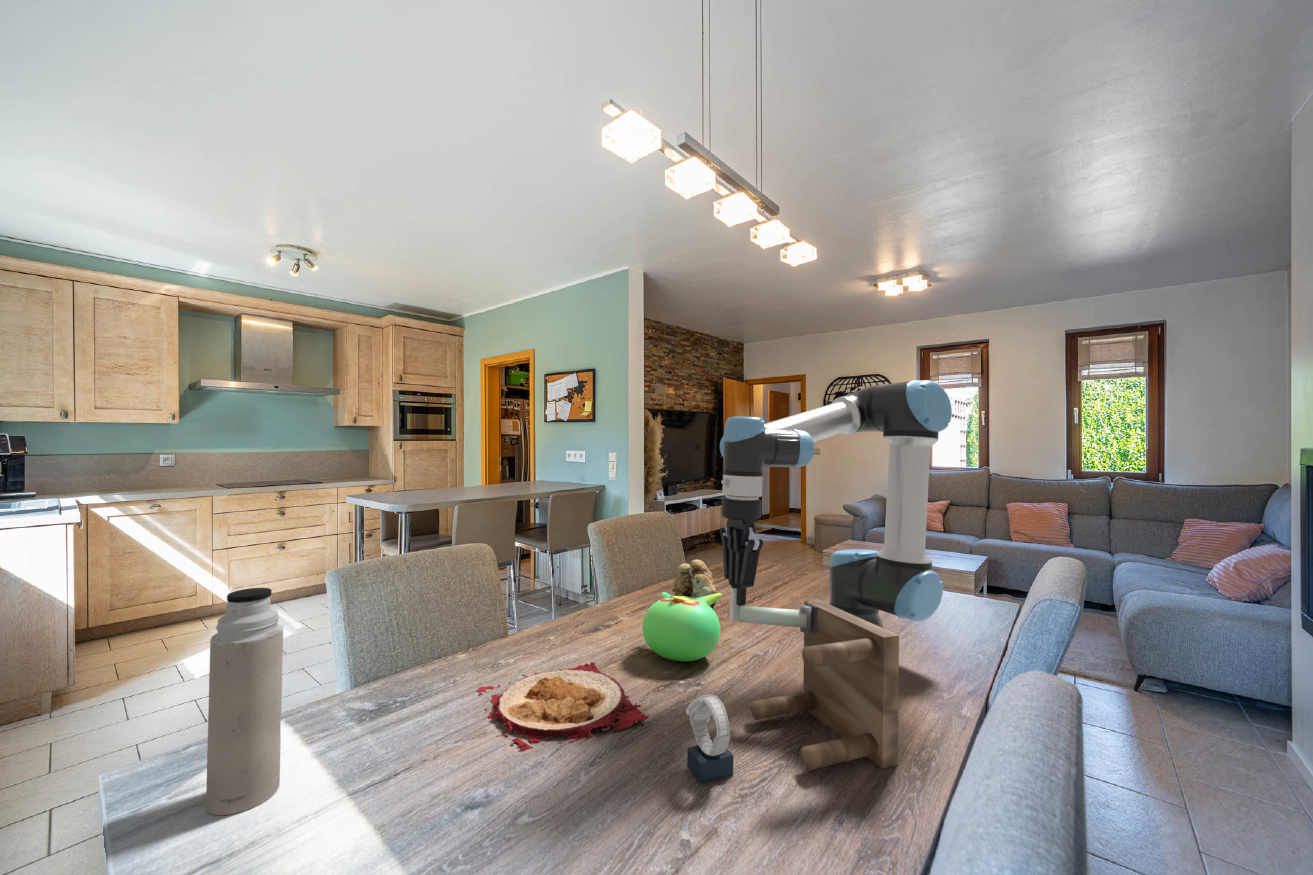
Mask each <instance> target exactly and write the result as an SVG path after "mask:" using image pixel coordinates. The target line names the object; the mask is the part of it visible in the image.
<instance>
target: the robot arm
mask: <svg viewBox="0 0 1313 875" xmlns="http://www.w3.org/2000/svg"><path fill="white" fill-rule="evenodd" d="M952 410H953V409H952V404H951V400H950V397H949V395H948V393H947V392H946V391H945V389H944V387H943V386H941V384H939V383H937V382H935V381H933V380H914V379H913V380H909V381H902V382H893V383H885V384H877V385H871V386H869V387H865V388H863V389H859V390H857V391H854V392H851V393H848V394H846V395H843V396H838V397H837V398H835V399H833V401H831V403H830V404H827V405H824V406H820V407H816V408H813V409H810V410H807V411H806V410H805V411H804V412H800V413H796V414H793V415H790V416H787V417H783V418H779V419H776V420H773V421H768V422H766V423H765V420H764V418H762V417H756V416H731V417H728V418H727V419H726V421H725V423H724V424H725V425H724V431H723V432H724V434H723V436H722V438H721V439H720V442H719V451H720V454H721V456H722V458H723V464H722V473H723V474H722V480H721V484H722V495H723V496H724V497H723V498H722V499H721V512H720V514H721V517H722V518H724V519H727V521H726V527H724V528H720V529H719V534H720V539H721V547H722V562H723V574H724V579H725V580H728V584H729V585H730V587H729V588H730V591H729V615H728V616H729V618H728V619H729V621H730V622H732V623H737V622H739V610H740V606H747V604H746V603H747V589H748V588H753V587H754V586H755V580H756V575H757V569H758V564H759V557H760V552H761V549H762V547H763V545H764V541H763V539H761V538H759V539H758V536H756V533H757V531H756V530H757V529H756V521H758V520H760V519H761V517H762V501H761V499H759V498H761V497H762V496H763V475H764V473H763V472H764V468H765V467H773V468H774V467H777V468H778V467H779V468H793V469H794V468H797V467H798V468H799V467H805V466H807V465H808V464H810V462H812V460H813V458H814V455H815V442H819V441H821V440H825V439H828V438H831V437H833V436H834V437H835V436H836V435H840V434H842V435H846V436H847V435H848V436H849V435H853V434H856V433H862V432H863V433H867V432H872V433H873V432H875V433H876V432H879V433H881V432H883V433H882V439H883V440H884V441H885V442H886V443H887V444H888V446H889V450H888V467H887V469H888V470H887V484H886V487H887V489H886V504H885V506H886V507H885V521H884V522H885V525H884V526H885V527H884V540H883V541H884V542H883V544H884V545H883V548H882V549H881V550H879V551H878V550H875V549H862V548H861V549H858V548H857V549H856V548H855V549H840V550H836V551H834V552H833V553H832V554H831V556H830V565H829V605H831V606H834V607H836V608H838V609H841V610H843V611H845V612H847V613H850V614H852V615H854V616H856V617H859V618H861V619H863V620H865V621H868V622H870V623H872V624H874V625H877V626H879V627H881V628H883V629H884V627H883V623H882V619H881V616H880V611H882V612H884V613H887V614H890V615H893V616H896V617H898V618H899V619H902V620H908V621H909V620H910V621H911V622H923V621H926V620H928V619H929V618H931V617H932V616H933V615H934V614H935V612H936V611H937V610H938V608H939V606H940V604H941V602H942V598H943V595H944V584H943V580H942V578H941V576H940V575H939V574H938V573H937V572H936V571H933V560H932V559H931V558H930V556H929V555H927V553H926V543H927V542H926V541H927V540H926V539H927V537H926V536H927V523H928V522H927V520H928V518H927V517H928V503H929V502H928V498H929V479H930V462H931V447H932V446H934V444H936V443H937V442H938V441H939V432H942V431H944V430H946V429H947V428H948V427H949V424H950V422H951V420H952V416H953V415H952V414H953V413H952V412H953V411H952ZM739 623H740V622H739Z"/></svg>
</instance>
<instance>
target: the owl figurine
mask: <svg viewBox="0 0 1313 875" xmlns="http://www.w3.org/2000/svg"><path fill="white" fill-rule="evenodd" d="M689 562H690V563H686V562H685V563H682V564H679V565H678V568H677V570H678V575H677V576H676V577H675V579H674V581H673V587H672V588H671V591H672V592H674V596H686V597H693V598H700V597H703V596H707V595H711V594H716V593H717V590H716V586H715V585H714V583H715V582H714V579H713V578H714V577H713V572H711V571H710V570H709V569H708V566H707V565H706V564H705V562H704V561H703V560H700V559H692V561H689ZM716 602H717V601H715V602H714V603H713V604H711V605H710V607H711V608H712V609H713V610H714V608H715V605H716ZM719 622H720V623H721V620H719Z"/></svg>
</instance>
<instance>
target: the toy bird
mask: <svg viewBox="0 0 1313 875" xmlns="http://www.w3.org/2000/svg"><path fill="white" fill-rule="evenodd" d="M660 595H661V598H660V599H658V600H657V601H655V602H654V603H653V604H651V605H650V606H649V607H648V609H647V611H646V612H645V615H644V616H643V620H642V635H643V638H644V640H645V642H646V644H647V645H648V647H649V648H650V650H652V651H653V652H655V654H658V655H659V656H661V657H663V658H665V659H668V660H670V661H671V660H672V661H676V662H693V661H697V660H701V659H703V658H705V657H707V656H708V655H710V654H711V653H712V652H713V651H714V650H715V648H716V647H717V645H718V643H719V641H720V636H721V621H720V619H719V617H718V615H717V613H716V611H714V608H713V609H712V608H711V607H710V605H711V604H713V603H714V602H715V601H716V602H717V601H718V600H720V599H721V598H722V597H723V593H722V592H721V593H720V592H718V593H717V592H716V594H711V595H707V596H703V597H700V598H693V597H686V596H675V595H671V593H670V594H669V593H668V592H664V591H663V592H661V594H660ZM719 621H720V622H719Z"/></svg>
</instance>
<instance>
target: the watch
mask: <svg viewBox="0 0 1313 875" xmlns="http://www.w3.org/2000/svg"><path fill="white" fill-rule="evenodd" d="M685 714H686V716H688V718H689V723H690V726H692V729H693V730H692V731H693V736H694V738H695V740H696V743H697V744H696V745H692V746H688V747H687V749H686V769H687V770H688V771H689V773H690V774H691V776H693V777H694V779H695V781H697V783H698V784H699V785H700V786H703V785H705V784H710V783H712V782H713V783H714V782H716V781H720V780H725V779H727V778H730V777H734V754H733V753H732V752H731V750H729V749H728V745H729V742H730V739H731V735H730V731H731V730H730V722H729V718H728V713H727V711H726V708H725V706H724V704H723V702H722V701H721V699H720V698H719V697H718V696H717V695H714V694H703V695H699V696H698V697H696V698H695V699H694V700H692V701H691V702H690V703H689V704H688V705H687V708H686V709H685ZM712 717H713V719H714V722H715V723H714V724H715V728H716V736H714V738H713V740H712V739H711V737H710V734H709V729H708V726H707V723H709V721H710V720H711V718H712Z"/></svg>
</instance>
